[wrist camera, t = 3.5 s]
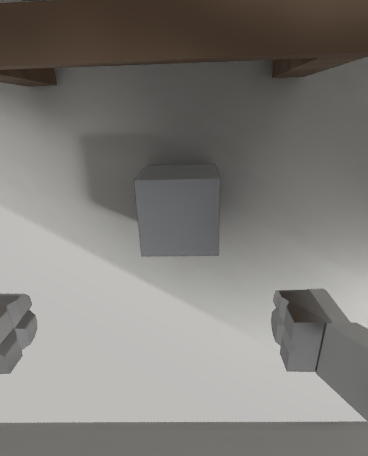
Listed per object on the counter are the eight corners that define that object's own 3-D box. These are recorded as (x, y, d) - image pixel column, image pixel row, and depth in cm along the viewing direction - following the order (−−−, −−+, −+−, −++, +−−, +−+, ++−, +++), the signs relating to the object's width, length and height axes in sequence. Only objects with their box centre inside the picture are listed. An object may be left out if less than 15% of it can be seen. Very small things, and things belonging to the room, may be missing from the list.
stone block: (213, 226, 23) (218, 255, 18) (152, 227, 23) (141, 256, 18) (214, 163, 21) (220, 178, 16) (147, 165, 21) (133, 180, 16)
